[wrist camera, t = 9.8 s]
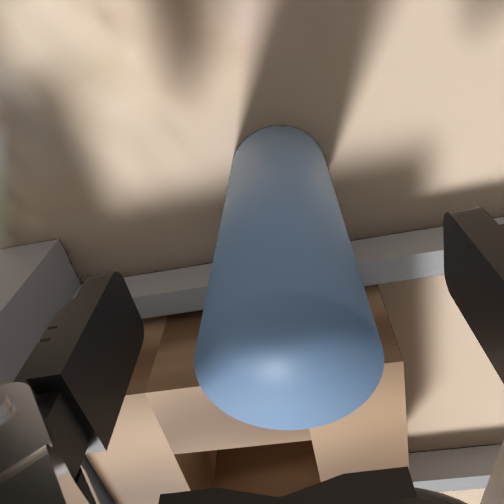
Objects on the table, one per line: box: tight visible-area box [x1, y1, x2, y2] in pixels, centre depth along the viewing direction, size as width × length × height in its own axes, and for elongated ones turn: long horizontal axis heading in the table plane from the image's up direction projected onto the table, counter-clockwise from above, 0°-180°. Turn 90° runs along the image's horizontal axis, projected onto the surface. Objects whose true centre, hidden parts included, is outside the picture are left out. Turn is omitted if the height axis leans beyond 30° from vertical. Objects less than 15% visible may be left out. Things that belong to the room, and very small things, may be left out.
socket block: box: [85, 284, 409, 504], centre depth 19 cm, size 11×11×4 cm
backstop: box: [0, 217, 504, 504], centre depth 18 cm, size 18×22×6 cm
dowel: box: [194, 125, 384, 430], centre depth 12 cm, size 3×3×9 cm
